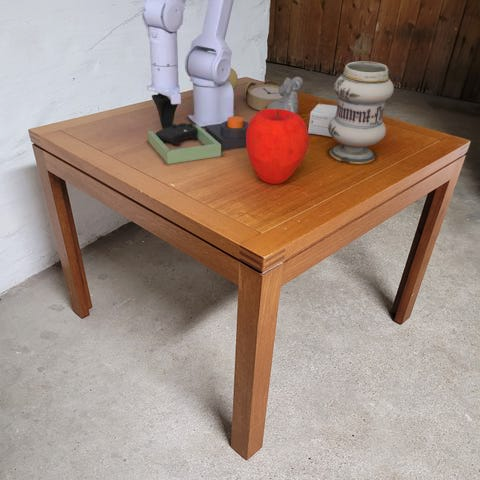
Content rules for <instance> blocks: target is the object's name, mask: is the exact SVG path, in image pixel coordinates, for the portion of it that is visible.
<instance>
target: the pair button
mask: <svg viewBox="0 0 480 480" xmlns="http://www.w3.org/2000/svg"><path fill="white" fill-rule="evenodd" d="M244 122H245V120H244V118H243V117H242V116H236V115H235V116H234V115H233V116H232V117H229V118H228V119H227V127H229V128H242V127H243V125H244Z"/></svg>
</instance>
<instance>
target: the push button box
mask: <svg viewBox="0 0 480 480" xmlns="http://www.w3.org/2000/svg"><path fill="white" fill-rule="evenodd" d="M249 123H250V122H247V121H244V125H243V127H242V128H229V127H227V121H225V122H223V123H221V124H215V125H207V126H205V127H204V130H205V131H206V132H207V133H208V134H209V135H211V136H212V137H213V138H214V139H215V140H216V141H217V142H219V143H220V144H221V151H225V150H227V151H228V150H232V149H233V150H234V149H239V148H246V131H247V128H248V125H249Z"/></svg>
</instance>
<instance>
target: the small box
mask: <svg viewBox="0 0 480 480" xmlns="http://www.w3.org/2000/svg"><path fill="white" fill-rule="evenodd" d="M336 111H337V105H335V104H334V105H332V104H325V103H318V104H316V106H315V107H314V108H312V110H311V111H310V113H309V120H308V121H309V122H308V127H307V130H308V133H309V135H311V134H312V135H318V136H324V137H330V138H332V137H331V135H330V134H329V131H328V125H329V123H330V121H331V120H332V119H333V118H334V117H335V116H336Z"/></svg>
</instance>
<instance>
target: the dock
mask: <svg viewBox="0 0 480 480" xmlns="http://www.w3.org/2000/svg"><path fill="white" fill-rule="evenodd" d="M193 126H194V127H195V128H196V129H197V131H198V132H197V140H198V141H200V142H201V144H203V145H195V146H189V147H181V148H176V149H170V148H169V147H168V146H167V145H166V144H165V142H162V141H161V140H160V139H159V138H158V136H157V135H156V134H155V133H156V132H154V131H153V130H147V137H148V143H149V144H150V145H151V146H152V147H153V149H154V150H155V151H156V152H157V153H158V154H159V156H160V157H161V158H162V159H163V160H164V161H165V162H166V164H167V165H171V164H177V163H178V164H179V163H184V162H191V161H198V160H204V159H211V158H216V157H217V158H219V157H222V150H221V144H220V143H219V142H217V141H216V140H215V139H214V138H213V137H212V136H211V135H209V134H208V133H207V132H206V131H205V128H204V127H200V126H199V125H196V124H193Z"/></svg>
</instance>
